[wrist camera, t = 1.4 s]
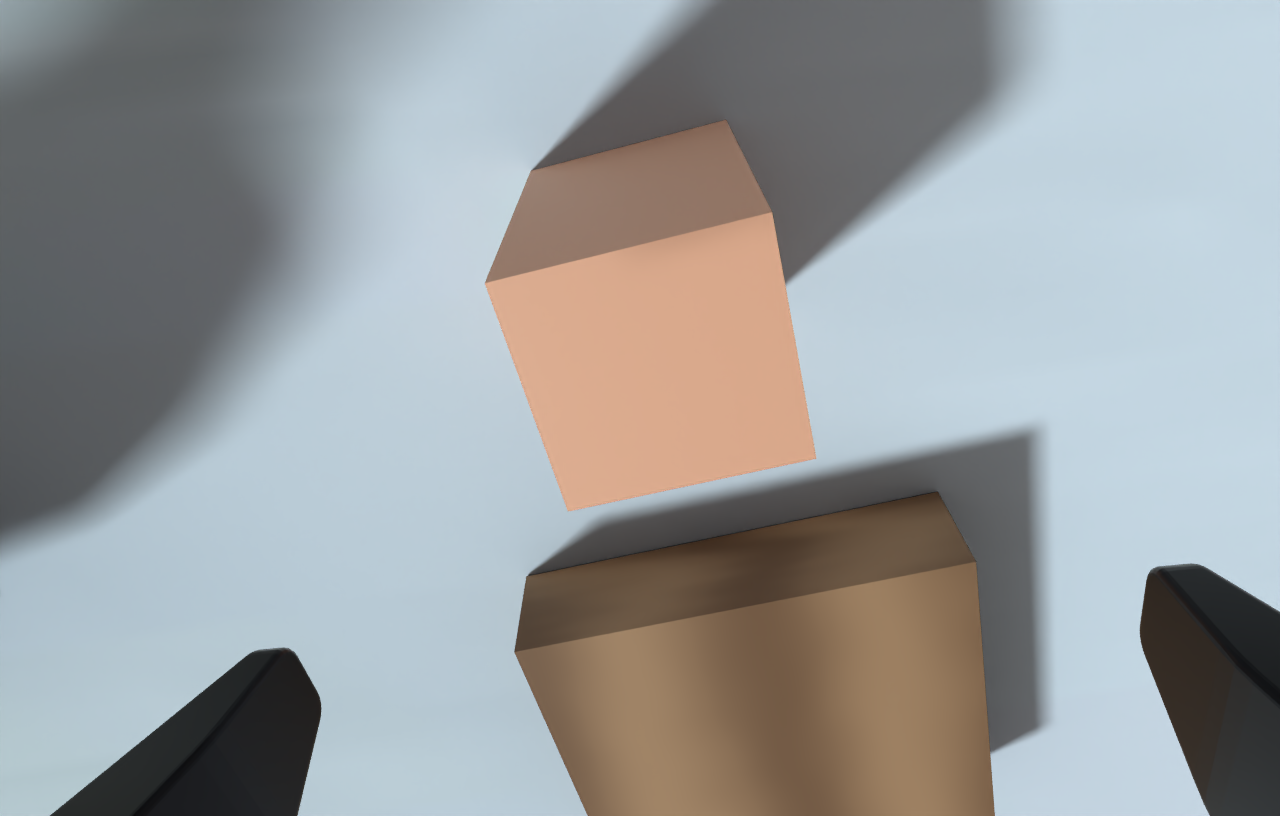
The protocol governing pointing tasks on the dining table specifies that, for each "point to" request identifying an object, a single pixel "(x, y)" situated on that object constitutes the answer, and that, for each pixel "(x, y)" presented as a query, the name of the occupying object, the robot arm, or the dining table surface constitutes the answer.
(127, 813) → the robot arm
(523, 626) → the walnut base
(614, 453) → the terracotta block
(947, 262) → the dining table surface
